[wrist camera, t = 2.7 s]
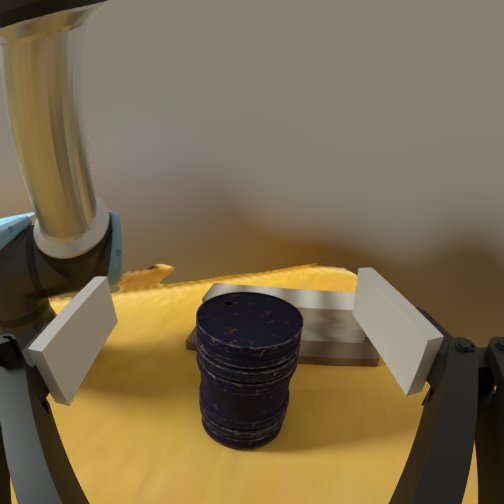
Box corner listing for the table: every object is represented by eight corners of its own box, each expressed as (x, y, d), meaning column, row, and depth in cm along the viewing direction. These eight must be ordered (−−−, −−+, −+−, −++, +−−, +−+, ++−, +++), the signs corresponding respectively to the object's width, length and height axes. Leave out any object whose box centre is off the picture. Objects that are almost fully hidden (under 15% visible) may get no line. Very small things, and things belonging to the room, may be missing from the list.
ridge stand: (186, 348, 44) (180, 309, 41) (214, 307, 57) (211, 273, 54) (376, 366, 38) (388, 325, 35) (365, 318, 51) (372, 283, 48)
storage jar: (299, 418, 30) (325, 317, 26) (242, 465, 23) (252, 366, 19) (242, 380, 37) (248, 283, 32) (184, 413, 30) (173, 309, 25)
